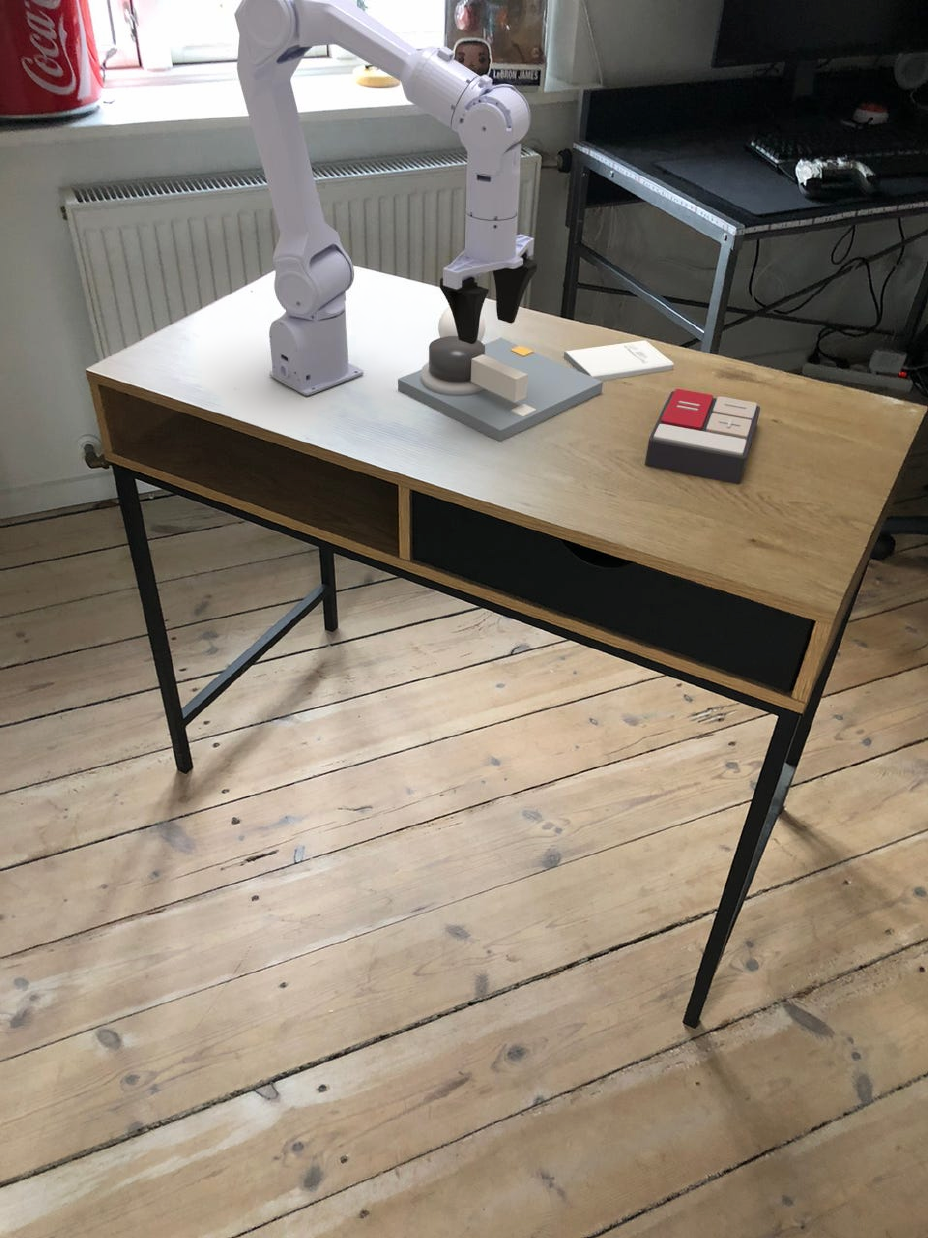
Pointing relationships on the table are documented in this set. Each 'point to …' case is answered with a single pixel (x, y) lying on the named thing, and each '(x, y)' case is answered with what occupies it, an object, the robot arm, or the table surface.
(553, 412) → the base
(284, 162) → the robot arm
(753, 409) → the calculator
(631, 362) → the external hard drive
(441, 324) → the lightbulb
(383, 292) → the table surface
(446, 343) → the cap
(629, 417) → the table surface
